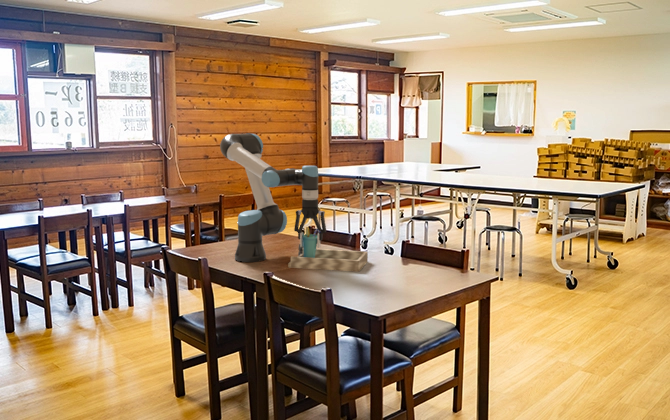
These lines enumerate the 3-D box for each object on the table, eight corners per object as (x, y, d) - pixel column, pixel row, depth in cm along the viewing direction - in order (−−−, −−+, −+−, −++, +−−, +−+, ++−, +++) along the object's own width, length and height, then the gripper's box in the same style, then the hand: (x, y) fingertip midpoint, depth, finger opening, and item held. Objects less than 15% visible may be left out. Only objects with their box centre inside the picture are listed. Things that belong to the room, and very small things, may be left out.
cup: (325, 260, 294) (327, 229, 291) (311, 262, 289) (313, 230, 287) (308, 253, 305) (310, 223, 302) (295, 255, 300) (297, 224, 298)
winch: (298, 256, 313) (297, 241, 312) (300, 254, 318) (300, 239, 317) (311, 257, 311) (311, 242, 310) (314, 255, 316) (314, 240, 315)
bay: (288, 267, 290) (288, 256, 289) (300, 258, 309) (300, 248, 308) (359, 271, 282) (359, 260, 281) (367, 261, 301) (367, 251, 301)
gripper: (286, 199, 292) (287, 247, 295) (329, 200, 287) (329, 249, 290) (291, 197, 299) (291, 244, 302) (333, 198, 294) (333, 246, 298)
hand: (310, 246), depth 296 cm, fingers closed on cup, 8 cm apart
